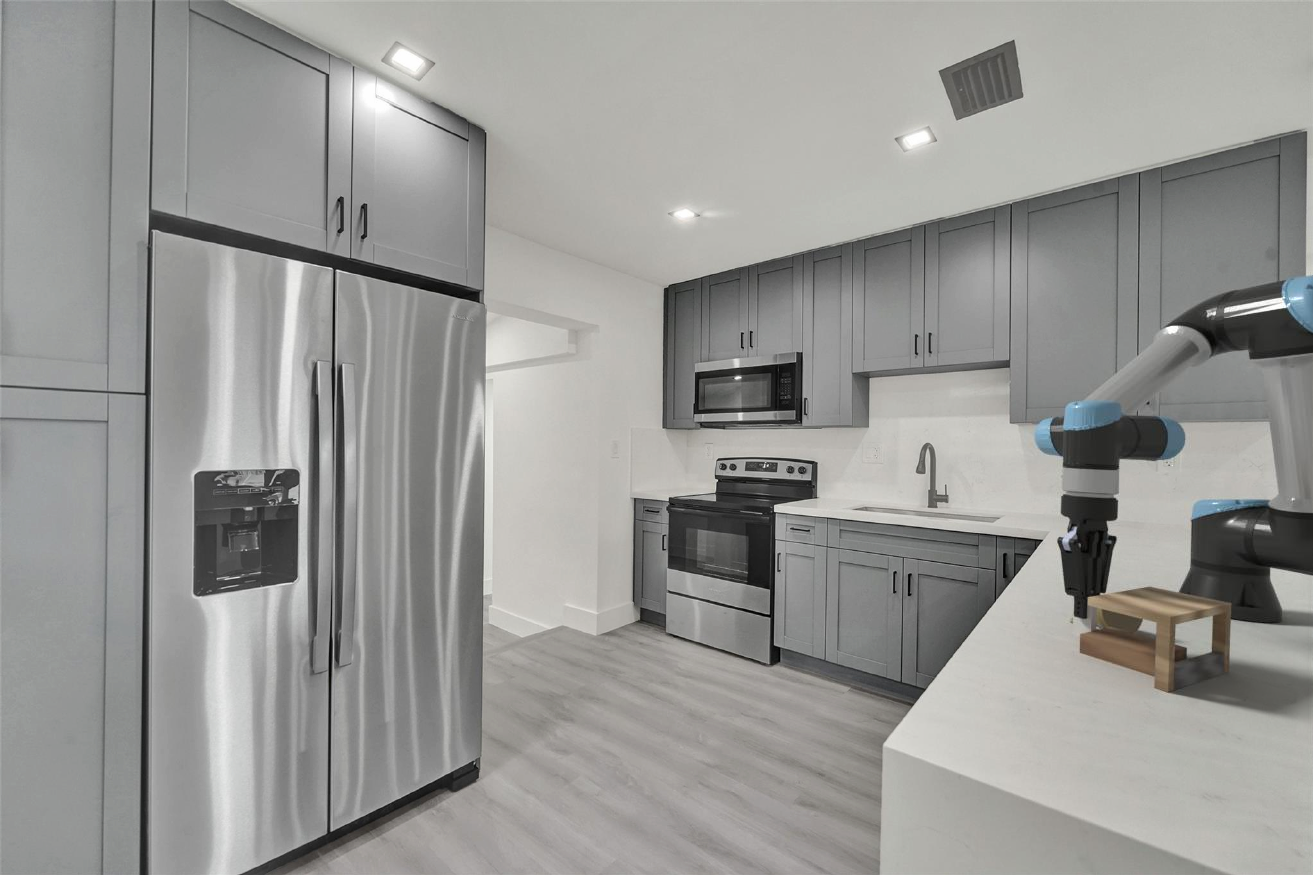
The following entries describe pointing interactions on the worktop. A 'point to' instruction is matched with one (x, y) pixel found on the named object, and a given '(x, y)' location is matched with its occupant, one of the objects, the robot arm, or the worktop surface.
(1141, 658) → the slab
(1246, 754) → the worktop surface
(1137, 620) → the mug
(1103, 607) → the shelf
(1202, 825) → the worktop surface
